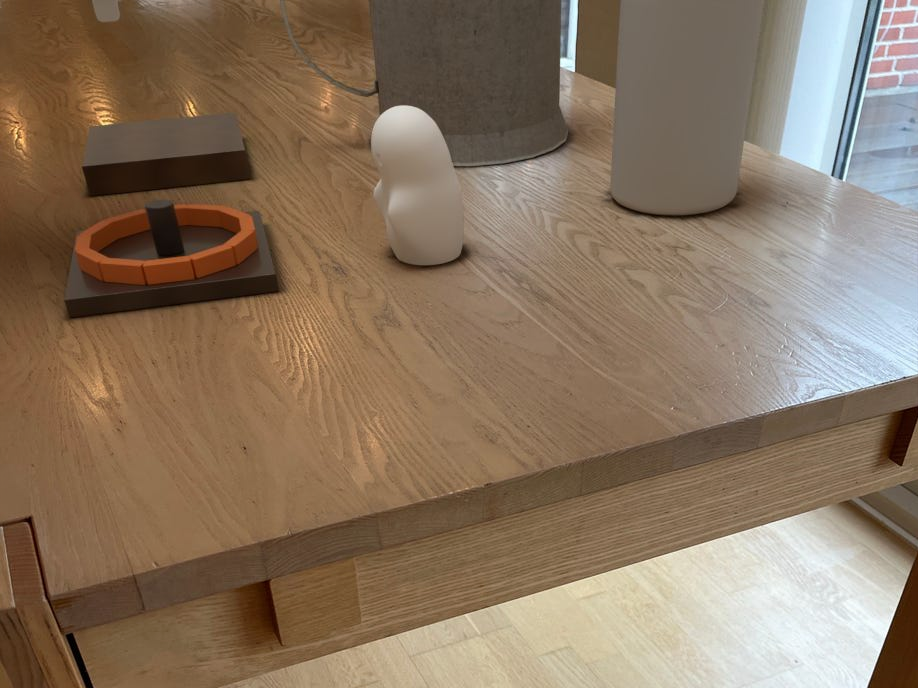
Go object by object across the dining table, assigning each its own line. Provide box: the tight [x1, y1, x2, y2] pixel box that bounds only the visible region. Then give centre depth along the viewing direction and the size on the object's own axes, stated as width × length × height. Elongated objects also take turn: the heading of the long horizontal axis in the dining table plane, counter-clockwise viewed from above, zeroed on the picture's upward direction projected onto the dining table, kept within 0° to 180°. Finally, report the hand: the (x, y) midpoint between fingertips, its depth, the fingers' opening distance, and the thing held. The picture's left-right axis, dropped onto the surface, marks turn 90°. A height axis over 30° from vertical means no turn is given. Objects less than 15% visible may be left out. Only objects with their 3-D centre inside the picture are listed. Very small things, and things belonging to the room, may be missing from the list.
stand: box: [81, 112, 251, 197], centre depth 108 cm, size 17×17×3 cm
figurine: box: [370, 105, 465, 266], centre depth 82 cm, size 7×8×12 cm
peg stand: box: [63, 198, 279, 318], centre depth 83 cm, size 17×17×6 cm
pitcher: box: [279, 0, 569, 167], centre depth 105 cm, size 23×32×25 cm
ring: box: [75, 203, 258, 285], centre depth 84 cm, size 15×15×2 cm
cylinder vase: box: [609, 0, 765, 216], centre depth 87 cm, size 12×12×25 cm
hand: (111, 11), depth 77 cm, fingers open, 8 cm apart
